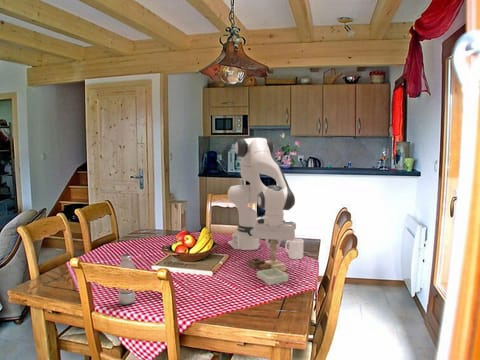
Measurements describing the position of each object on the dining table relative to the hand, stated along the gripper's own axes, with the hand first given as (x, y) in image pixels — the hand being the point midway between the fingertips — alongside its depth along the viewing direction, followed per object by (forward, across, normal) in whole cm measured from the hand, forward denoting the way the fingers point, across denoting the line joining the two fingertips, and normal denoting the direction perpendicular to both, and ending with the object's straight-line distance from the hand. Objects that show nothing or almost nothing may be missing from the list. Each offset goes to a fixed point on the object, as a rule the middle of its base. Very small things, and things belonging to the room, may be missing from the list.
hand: (273, 248), depth 182 cm
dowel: (+6, 0, 0) cm, 6 cm away
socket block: (+15, +10, -15) cm, 24 cm away
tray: (+15, 0, 0) cm, 16 cm away
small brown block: (+15, +5, -10) cm, 19 cm away
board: (+16, 0, -14) cm, 21 cm away
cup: (+15, -8, -38) cm, 42 cm away
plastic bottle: (+16, +55, +40) cm, 70 cm away
